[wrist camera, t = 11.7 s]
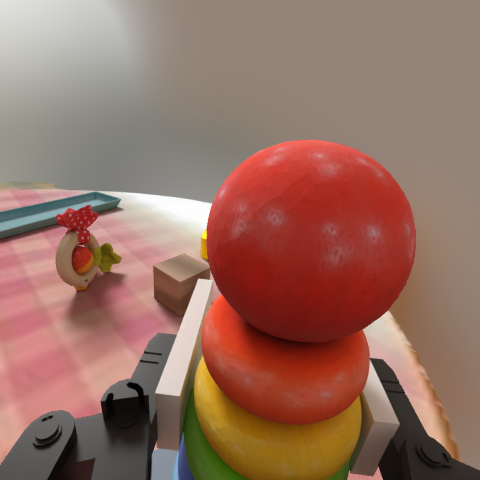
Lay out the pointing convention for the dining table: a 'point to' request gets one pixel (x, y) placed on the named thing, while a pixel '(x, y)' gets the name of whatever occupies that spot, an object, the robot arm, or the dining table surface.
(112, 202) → the rectangular tray
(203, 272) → the walnut cube
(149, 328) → the dining table surface
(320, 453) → the stacking toy
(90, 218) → the bird rattle
